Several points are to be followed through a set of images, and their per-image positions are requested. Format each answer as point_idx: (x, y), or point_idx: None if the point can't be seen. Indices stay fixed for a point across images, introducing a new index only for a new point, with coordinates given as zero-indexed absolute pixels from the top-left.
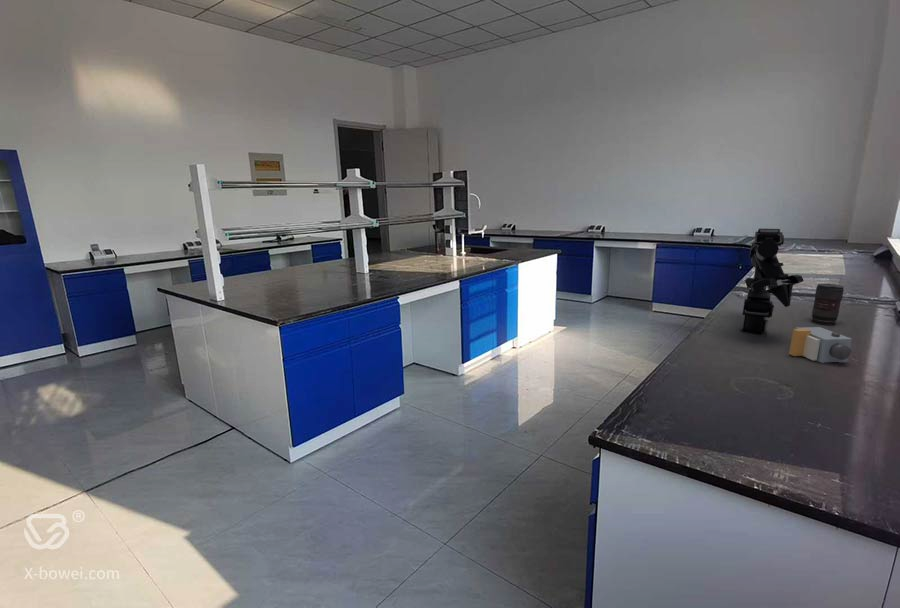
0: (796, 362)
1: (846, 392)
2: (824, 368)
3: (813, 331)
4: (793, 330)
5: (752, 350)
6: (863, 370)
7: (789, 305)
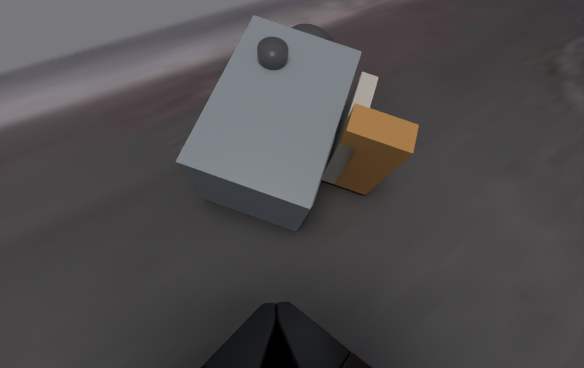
0: None
1: (457, 3)
2: None
3: (293, 130)
4: (409, 154)
5: (449, 288)
6: None
7: (270, 303)
